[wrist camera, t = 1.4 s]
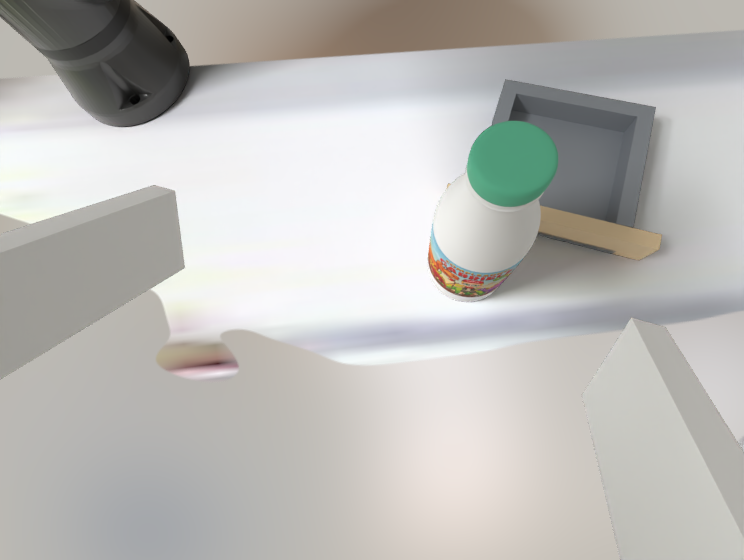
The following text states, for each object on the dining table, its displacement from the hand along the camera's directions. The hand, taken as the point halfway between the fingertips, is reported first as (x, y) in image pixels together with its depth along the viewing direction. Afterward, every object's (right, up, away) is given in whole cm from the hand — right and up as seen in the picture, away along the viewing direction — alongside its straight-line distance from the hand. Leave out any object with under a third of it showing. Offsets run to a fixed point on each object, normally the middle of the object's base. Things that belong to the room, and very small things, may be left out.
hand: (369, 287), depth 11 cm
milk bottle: (+10, +1, +28) cm, 30 cm away
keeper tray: (+19, +12, +30) cm, 37 cm away
